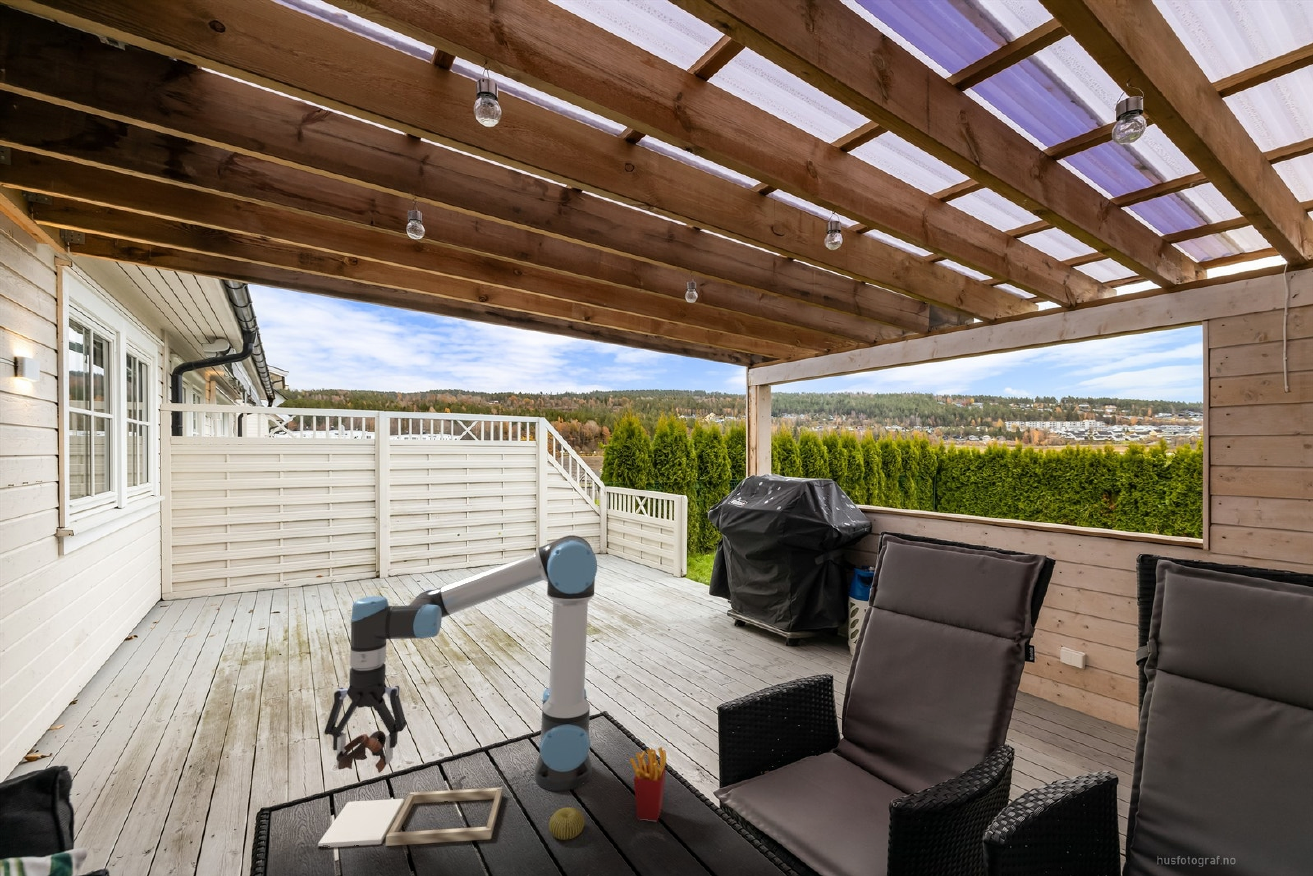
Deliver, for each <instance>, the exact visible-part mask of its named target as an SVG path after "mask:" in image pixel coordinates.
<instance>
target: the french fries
mask: <svg viewBox="0 0 1313 876" xmlns="http://www.w3.org/2000/svg"><path fill="white" fill-rule="evenodd" d="M657 750H658V753H659V760H658V759H657V753H656V752H657V751H656V749H654V748H652V747H651V749H650V748H648V749H647V750H646V751H645V750H643V752H642V753H640V752H639V751H638V752H637V753H635V756H636V759H637V761H638V765H637V762H636V761H635V759H634V758H633V757H631V758H629V762H630V764H631V767H632V768H633V771H634V772H635V773H634V774H635V776H634V778H633V782H634V794H635V795H634V796H635V805H636V806H635V807H636V817H637V818H639V819H648V820H656V821H659V820H658V818H659V819H660V817H659V815H660V816H661V814H660V812H661V813H662V811H661V809H662V810H663V801H664V792H665V791H664V790H665V778H666V769H667V768H666V767H665V766H666V763H667V753H666V750H665V749H663V747H662V746H661V747H658V748H657ZM646 754H647V763H646V761H645V759H644V758H645V756H646Z"/></svg>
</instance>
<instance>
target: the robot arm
mask: <svg viewBox="0 0 1313 876" xmlns="http://www.w3.org/2000/svg"><path fill="white" fill-rule="evenodd" d="M591 546H592V545H590V543H589V542H588V541H587V540H586V539H585V538H583V537H581V536H579V535H575V534H573V535H565V536H563V537H560V538H559V539H556V540H554V541H552V542H549V543H546V544H545V545H542V546H540V547H537V548H536V550H535V552H534V553H531V554H527V555H526V556H523V557H521V558H518V559H515V560H512V561H510V562H507V563H504V564H501V565H498V566H496V567H493V568H490V569H488V570H484V571H482V572H479V573H477V574H474V575H471V576H468V577H465V578H462V579H460V580H457V581H455V582H451V583H449V584H446V585H443V586H441V587H438V588H436V589H426V590H425V591H422V592H420V593H418V595H417V596H416V597H415V598H414V600H412V602H410V604H409V605H389V603H388V602H389V601H388V598H387V597H386V596H379V595H376V596H375V595H374V596H366V597H365V596H364V597H362V598H359V599H357V600H355V601H354V602H353V604H352V609H351V610H352V611H351V619H350V652H349V654H350V657H349V665H350V667H351V668H350V669H349V681H348V682H349V684H348V685H349V686H348V688H343V687H339V688H338V689H337V690H336V691H335V692H334V693H333V698H334V699H333V705H332V707H331V710H330V714H329V716H328V719H327V723H326V726H325V729H324V732H323V733H324V734H325V735H326V736H327V735H331V736H332V740H333V741H332V750H333V751H336V756H337V755H338V754H339V753H340V751H342V752H343V754H344V752H345V751H346V750H345V749H344V747H345V746H346V745H347V743H346V741H347V732H346V731H344V729H345V727H346V726H347V724H348V722H349V721H350V719H351V717H352V716H353V714H354V712H355V711H356V709H357V708H358V709H359V708H364V707H365V708H373V709H374V711H376V712H377V713H378V716H379V717H380V719H381V722H382V723H383V724H384V726H385V729H387V731H388V733H387V734H385V736H386V742H385V752H384V754H385V762H386V765H389V764H390V763H391V761H392V760H393V758H394V757H393V756H394V748H395V747H396V746H397V744H398V736H399V735H398V732H400V733H401V732H402V731H404V729H405V728H406V726H407V721H406V718H405V714H404V709H403V706H402V703H401V698H400V685H395V686H394V687H393V686H389V687H388V686H387V685H386V672H387V671H386V670H387V669H386V668H387V667H386V666H387V665H386V661H387V640H403V639H404V640H406V639H409V640H410V639H421V640H422V639H423V640H424V639H427V638H428V639H429V638H435V637H437V636H438V635H439V634H440V630H441V627H442V621H443V618H445V617H447V616H450V615H453V614H455V613H458V612H460V611H463V610H467V609H468V608H472V607H474V606H477V605H479V604H482V603H485V602H488V601H490V600H493V599H496V598H500V597H502V596H504V595H506V594H510V593H513V592H515V591H517V590H520V589H523V588H525V587H528V586H531V585H534V584H536V583H539V582H542V581H545V582H547V588H546V589H547V592H546V594H547V595H546V596H547V597H548V598H549V599H550V600H551V601H552V615H551V616H552V618H551V620H552V621H551V622H552V623H551V641H550V643H551V644H550V646H551V647H550V664H549V665H550V666H549V667H550V669H549V686H548V687H547V688H546V689H545V690H544V691H543V693H542V699H541V703H542V707H541V728H540V729H541V732H540V742H539V755H538V758H537V761H536V764H535V767H534V768H535V769H534V780H535V783H536V784H537V785H538V786H540V787H541V788H543V789H545V790H547V791H556V792H564V791H571V790H575V789H577V788H580V787H581V785H582V784H583V783H585V784H586V783H588V781H589V780H590V779H591V778H590V776H591V777H592V775H593V773H592V772H593V767H592V766H593V764H592V763H593V762H592V761H591V757H590V754H589V752H590V748H591V739H590V715H591V714H590V710H591V709H590V708H591V705H590V702H589V701H588V700H587V699H588V697H587V691H586V688H585V687H586V686H585V683H586V682H585V679H586V661H587V660H586V659H587V658H586V657H587V655H586V653H587V632H588V631H587V630H588V629H587V628H588V609H589V608H588V607H589V605H588V603H589V602H590V600H592V599H593V597H594V596H595V583H596V581H595V580H596V576H597V572H598V561H597V558H596V555H595V553H594V550H593V547H591ZM385 694H386V695H387V698H388V699H389V702H390V703H389V704H390V706H391V710H392V713H393V714H392V713H391V711H390V709H389V707H388V706H387V704H386V700H385V698H384V697H383V696H384V695H385ZM347 695H348V697H349V698H350V700H351V703H350V705H348V707H347V709H346V711H345V714H344V715H343V716H342V717H341V719H340V721H339V723H338V724H337V721H338V718H339V715H340V712H341V710H342V707H343V702H344V700H345V698H347ZM336 724H337V726H336ZM338 763H339V762H338V761H337V760H336V767H337V768H338ZM591 774H592V775H591ZM589 778H590V779H589ZM588 779H589V780H588ZM587 780H588V781H587ZM583 785H584V784H583ZM583 785H582V786H583ZM579 786H580V787H579ZM576 787H577V788H576ZM574 788H575V789H574ZM570 789H571V790H570Z"/></svg>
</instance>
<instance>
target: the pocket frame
mask: <svg viewBox="0 0 1313 876" xmlns="http://www.w3.org/2000/svg"><path fill="white" fill-rule="evenodd" d="M503 789H504V788H503V787H502V786H501V787H487V788H486V787H485V788H468V789H452V790H451V789H450V790H435V791H433V790H431V791H415V792H413V791H412V792H409V794H408V796H407V797H406V800H404V801H405V802H404V803H403V805H402V807H401V808H400V810H399V812H398V814H397V816H396V817H395V819H394V821H393V823H392V825H391V826H390V828H389V830H388V832H387V834H386V835H385V846H387V847H388V846H402V845H403V846H406V845H419V844H422V845H423V844H434V843H449V842H466V841H479V840H482V841H484V840H491V839H492V836H493V832H494V829H495V825H496V822H497V817H498V814H499V809H500V806H501V802H502V799H503V796H504V795H503V793H504V791H503ZM479 800H481V801H482V800H493V804H492V807H491V809H490V810H491V811H490V813H489V817H488V820H487V825H486V826H476V827H463V828H462V827H461V828H459V827H458V828H448V829H447V828H445V829H443V828H442V829H431V830H428V829H427V830H413V831H410V830H409V831H400V830H401V828H402V826H403V824H404V822H405V821H406V819H407V818H408V815H409V813H410V811H411V810H412V807H413V805H414V804H425V803H426V804H428V803H444V801H448V802H461V801H463V802H464V801H479Z"/></svg>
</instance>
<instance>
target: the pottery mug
mask: <svg viewBox="0 0 1313 876" xmlns="http://www.w3.org/2000/svg"><path fill="white" fill-rule="evenodd" d="M385 746H386V734H385V733H384V731H382V730H376V731H373V733H371V735H370V736H368V734H366V733H365V734H360V735H358V736H356V737H355V738H353V739H352V740H351V741H349V743H346V746H345V747H344V749H345V752H344V754H343V752H342V751H340V753H339V754H338V755H337V754H336V762H337V761H338V762H339V763H338V767H337V768H338V770H339V771H340V770H344V769H349V770H353V761H354V760H356V761H360V760H361V761H364V760H367V759H368V756H367V755H366V750H367V749H368V750H369V751H370V752H371V755H372V756H373V757H379V760H378V762H377V763H376V764H375V765H374V766H375V768H376V769H377V772H378V774H380V773H382V771H383V770H384V769H385V767H386V766H387V764H386V762H385V751H384V748H385ZM366 748H367V749H366Z"/></svg>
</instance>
